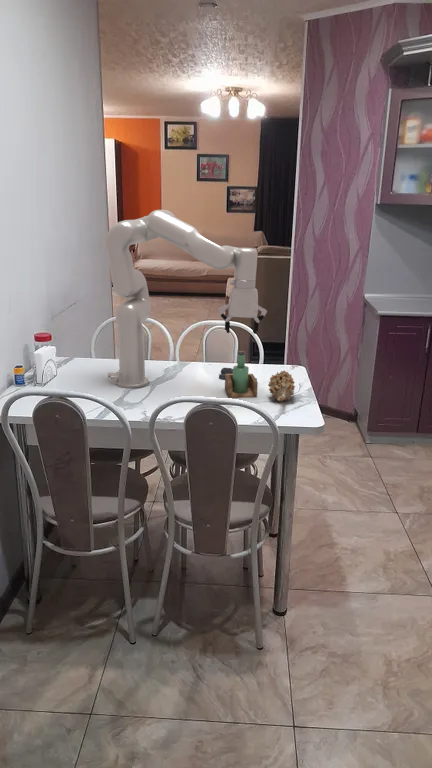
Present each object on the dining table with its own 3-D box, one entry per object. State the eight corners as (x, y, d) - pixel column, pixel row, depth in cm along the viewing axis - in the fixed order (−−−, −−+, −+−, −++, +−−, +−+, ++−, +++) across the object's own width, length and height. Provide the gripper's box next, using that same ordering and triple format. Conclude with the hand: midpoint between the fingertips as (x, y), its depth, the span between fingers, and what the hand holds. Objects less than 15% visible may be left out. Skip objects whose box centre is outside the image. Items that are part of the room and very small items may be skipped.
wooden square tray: (228, 397, 198) (228, 382, 196) (224, 388, 208) (225, 373, 206) (256, 397, 199) (257, 382, 197) (252, 388, 209) (252, 373, 207)
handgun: (259, 375, 227) (256, 384, 216) (221, 372, 230) (216, 380, 219) (260, 370, 226) (256, 378, 215) (221, 366, 229) (216, 375, 218)
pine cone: (266, 391, 205) (267, 366, 202) (292, 392, 205) (294, 367, 202) (269, 413, 184) (271, 385, 181) (298, 414, 184) (300, 386, 181)
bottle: (233, 393, 200) (234, 354, 196) (231, 388, 205) (232, 350, 201) (248, 393, 201) (250, 354, 196) (246, 388, 206) (247, 350, 201)
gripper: (220, 285, 186) (218, 334, 192) (271, 287, 188) (266, 335, 194) (218, 282, 194) (215, 329, 199) (266, 283, 196) (263, 330, 201)
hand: (241, 332), depth 196 cm, fingers open, 9 cm apart
